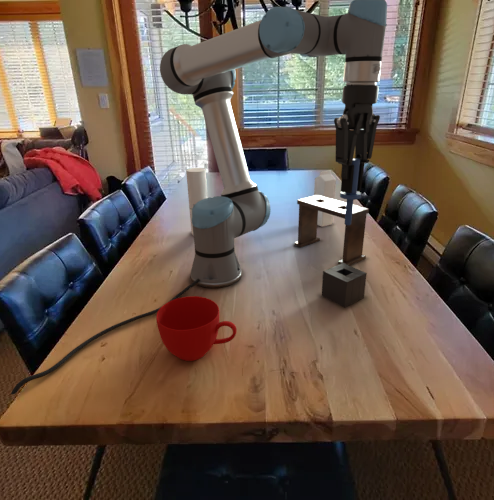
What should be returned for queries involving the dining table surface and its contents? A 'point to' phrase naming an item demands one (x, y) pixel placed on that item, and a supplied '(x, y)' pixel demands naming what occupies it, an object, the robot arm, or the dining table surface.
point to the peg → (354, 194)
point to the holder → (343, 284)
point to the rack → (336, 208)
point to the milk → (325, 194)
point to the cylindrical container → (196, 188)
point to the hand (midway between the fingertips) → (350, 190)
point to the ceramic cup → (191, 326)
